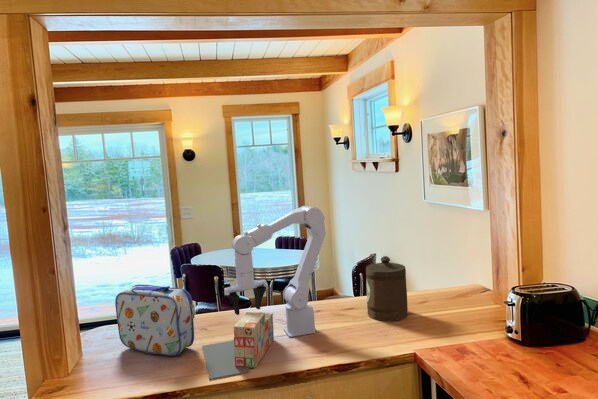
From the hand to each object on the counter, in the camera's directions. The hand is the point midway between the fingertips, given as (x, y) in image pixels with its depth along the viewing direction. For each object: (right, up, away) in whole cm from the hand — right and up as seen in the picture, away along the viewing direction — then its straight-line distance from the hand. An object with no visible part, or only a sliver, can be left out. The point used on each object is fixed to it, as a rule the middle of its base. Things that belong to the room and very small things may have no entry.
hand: (247, 311), depth 147 cm
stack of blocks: (+4, -11, -9) cm, 14 cm away
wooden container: (+50, -6, +19) cm, 54 cm away
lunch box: (-29, -12, -2) cm, 31 cm away
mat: (-6, -12, -12) cm, 18 cm away
